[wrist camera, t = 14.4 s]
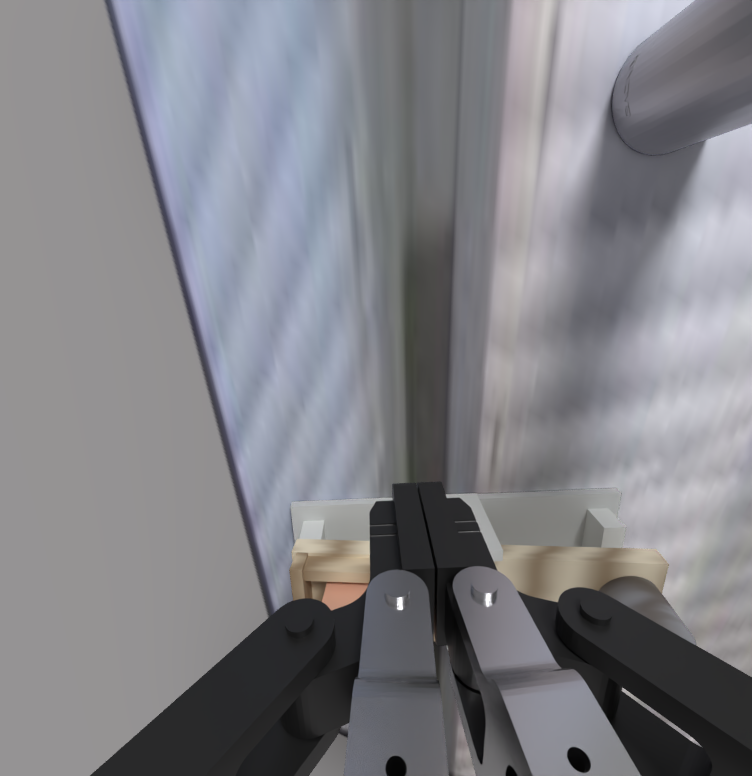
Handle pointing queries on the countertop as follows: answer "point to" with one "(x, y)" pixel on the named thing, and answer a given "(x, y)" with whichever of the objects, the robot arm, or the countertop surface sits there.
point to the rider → (342, 593)
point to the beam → (514, 573)
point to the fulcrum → (488, 518)
